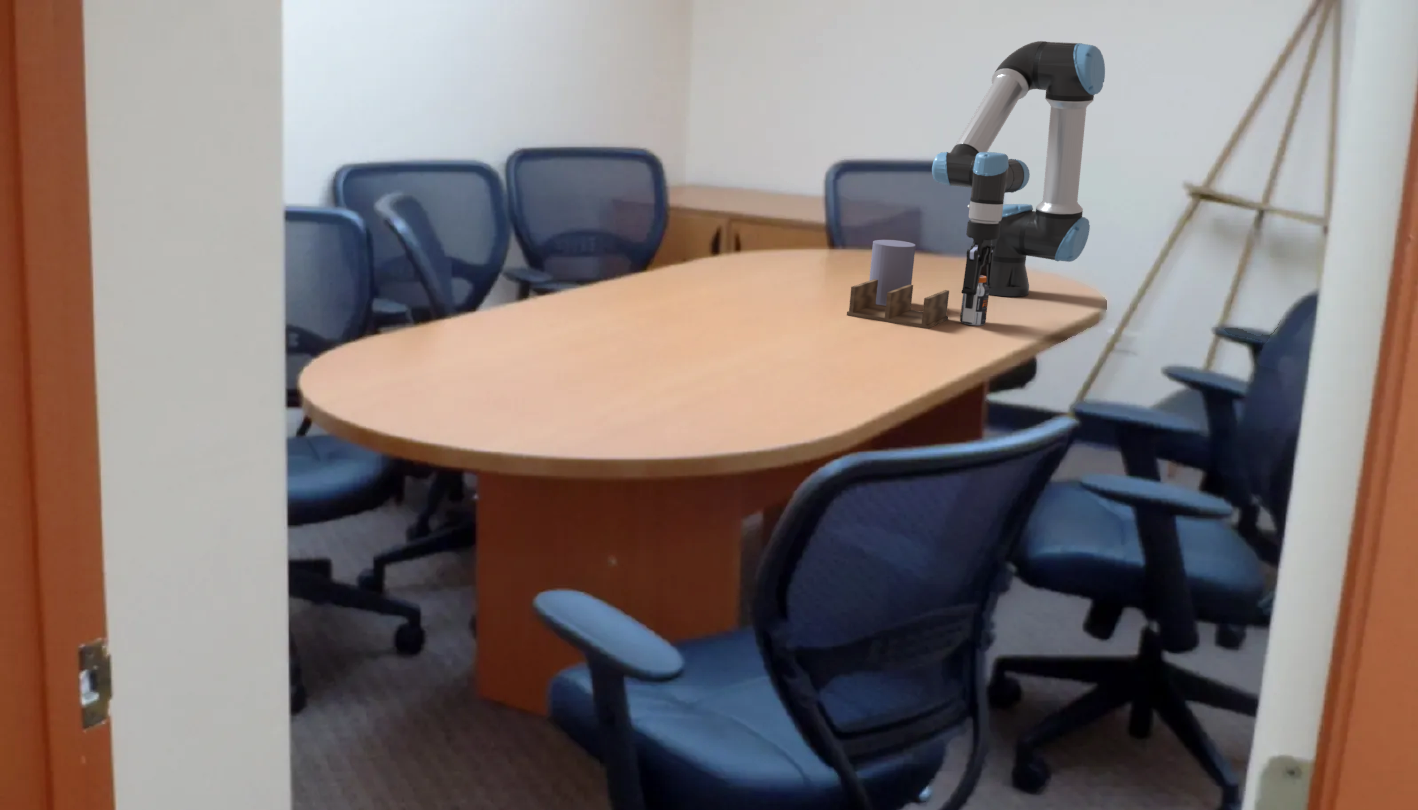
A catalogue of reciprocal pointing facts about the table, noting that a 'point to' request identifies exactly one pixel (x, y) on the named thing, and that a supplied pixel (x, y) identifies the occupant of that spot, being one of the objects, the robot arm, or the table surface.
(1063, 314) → the table surface
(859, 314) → the rack
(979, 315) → the pill bottle
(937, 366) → the table surface
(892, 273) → the container
